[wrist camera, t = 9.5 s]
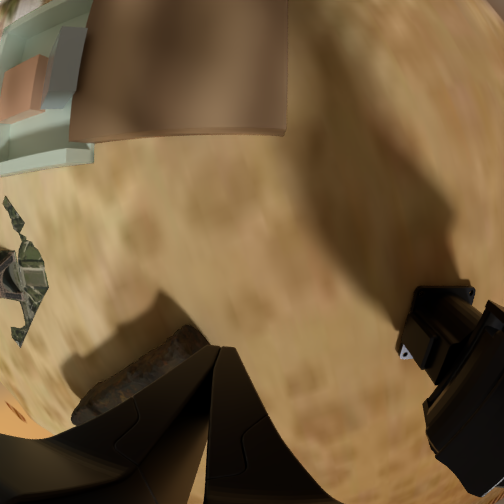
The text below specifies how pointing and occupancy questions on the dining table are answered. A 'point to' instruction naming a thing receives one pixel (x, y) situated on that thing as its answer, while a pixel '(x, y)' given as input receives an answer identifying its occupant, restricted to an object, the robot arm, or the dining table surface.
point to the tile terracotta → (23, 90)
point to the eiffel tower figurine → (22, 276)
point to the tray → (52, 120)
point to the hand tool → (139, 374)
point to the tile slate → (63, 67)
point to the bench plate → (182, 70)
